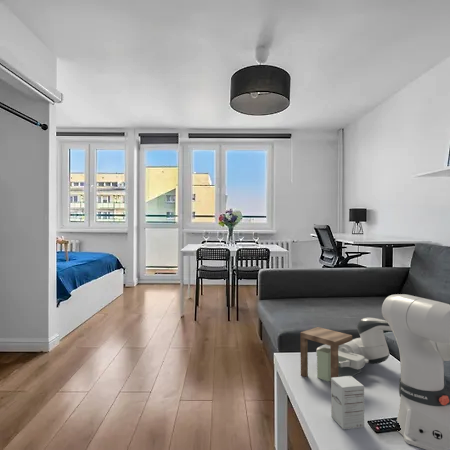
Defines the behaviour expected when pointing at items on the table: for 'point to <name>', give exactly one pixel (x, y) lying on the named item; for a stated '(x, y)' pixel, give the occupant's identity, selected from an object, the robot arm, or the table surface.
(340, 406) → the supplement box
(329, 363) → the sage block
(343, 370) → the slate mat
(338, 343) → the shelf stand
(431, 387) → the robot arm
